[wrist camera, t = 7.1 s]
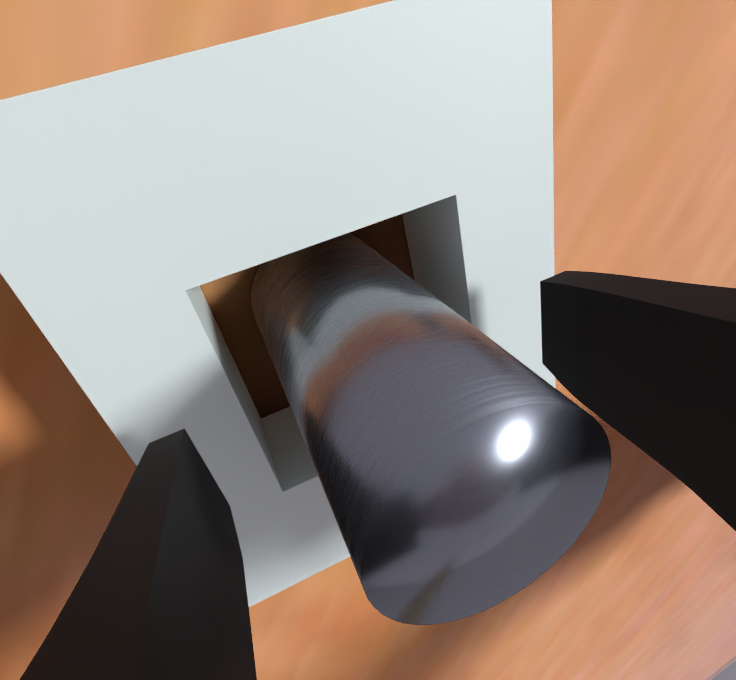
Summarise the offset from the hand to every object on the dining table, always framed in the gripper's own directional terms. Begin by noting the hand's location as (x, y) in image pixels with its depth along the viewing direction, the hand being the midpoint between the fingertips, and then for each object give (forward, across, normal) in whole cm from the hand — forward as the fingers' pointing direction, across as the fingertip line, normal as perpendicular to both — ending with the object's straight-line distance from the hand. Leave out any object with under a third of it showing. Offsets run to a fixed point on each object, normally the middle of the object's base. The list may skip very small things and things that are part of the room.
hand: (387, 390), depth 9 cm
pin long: (+4, 0, 0) cm, 4 cm away
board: (+4, 0, 0) cm, 4 cm away
